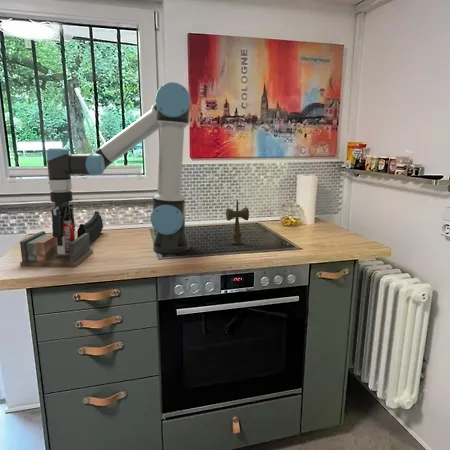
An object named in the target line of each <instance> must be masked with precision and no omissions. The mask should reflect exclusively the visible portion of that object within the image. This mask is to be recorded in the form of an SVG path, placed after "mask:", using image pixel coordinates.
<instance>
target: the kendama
mask: <svg viewBox="0 0 450 450" xmlns="http://www.w3.org/2000/svg"><path fill="white" fill-rule="evenodd" d="M234 218H235V221H234V227H233V231H232V232H231V236H232V240H231V241H230V243H231V244H232V245H235V246H236V245H237V246H239V245H242V244H243V243H244V242H243V241H242V239H241V238H242V235H243V232H241V229H240V219H243V220H245V221H248V220H249V219H250V210H249V208H248V207H247V206H245V207H243V208H242V209H240V210H239V199H237V200H236V209H235V210H233V209H231V208H228V207H227V208H226V209H225V219H226V221H231V220H233V219H234Z"/></svg>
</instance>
